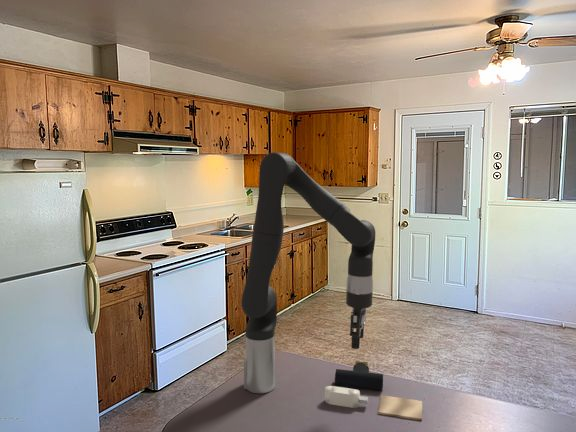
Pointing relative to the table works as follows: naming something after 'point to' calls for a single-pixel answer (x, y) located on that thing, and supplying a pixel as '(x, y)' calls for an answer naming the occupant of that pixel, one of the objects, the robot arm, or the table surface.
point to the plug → (344, 397)
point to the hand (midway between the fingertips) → (357, 342)
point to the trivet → (400, 407)
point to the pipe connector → (359, 377)
